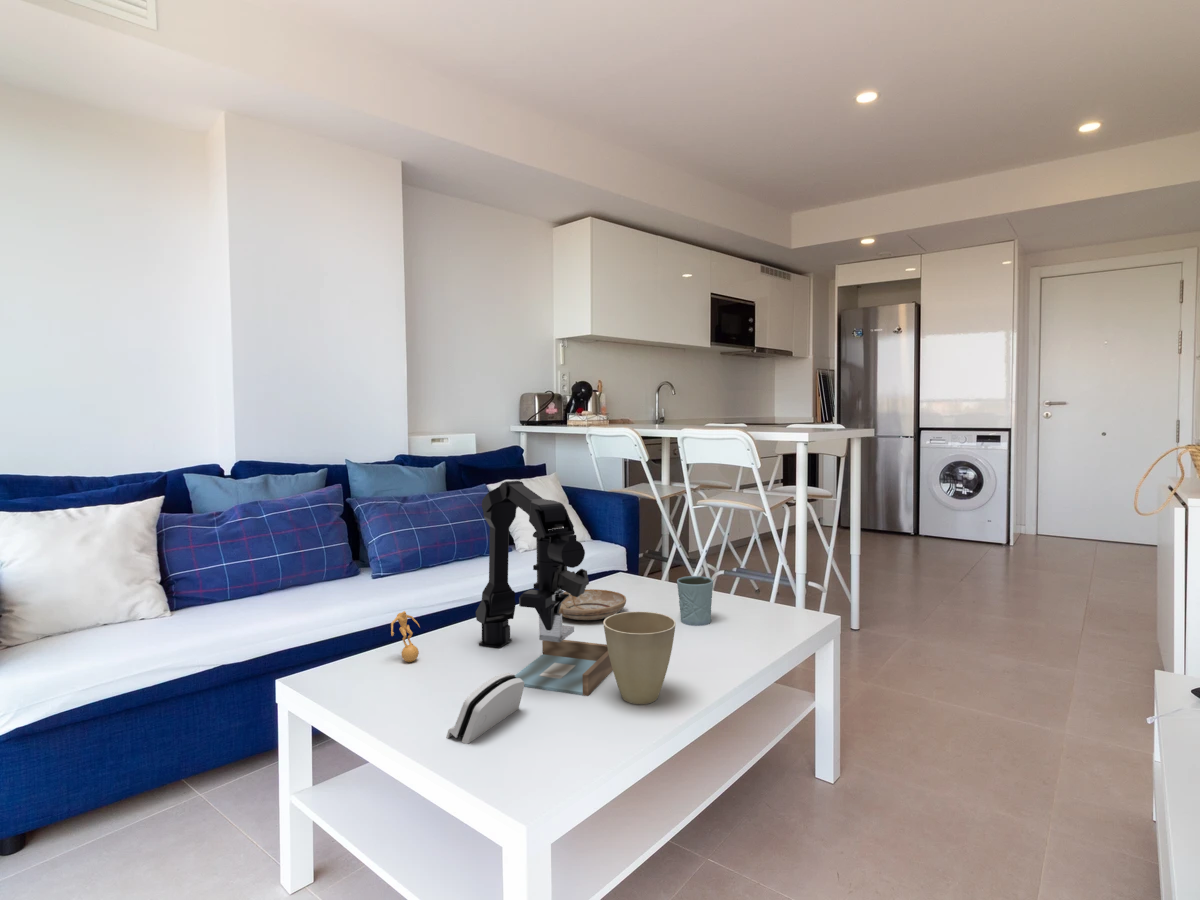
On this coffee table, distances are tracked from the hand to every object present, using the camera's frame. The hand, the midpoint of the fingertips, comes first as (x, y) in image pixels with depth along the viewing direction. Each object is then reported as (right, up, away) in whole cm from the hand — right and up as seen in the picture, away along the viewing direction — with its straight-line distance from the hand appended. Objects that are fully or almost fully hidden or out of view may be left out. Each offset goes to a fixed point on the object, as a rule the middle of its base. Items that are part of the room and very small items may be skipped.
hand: (550, 629), depth 148 cm
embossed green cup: (+38, -9, +42) cm, 57 cm away
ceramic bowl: (+7, -10, +50) cm, 51 cm away
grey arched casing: (-10, -13, -21) cm, 27 cm away
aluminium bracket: (+1, -2, +3) cm, 4 cm away
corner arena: (+2, -11, +3) cm, 12 cm away
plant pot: (+19, -12, -10) cm, 25 cm away
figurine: (-36, -11, +13) cm, 40 cm away
